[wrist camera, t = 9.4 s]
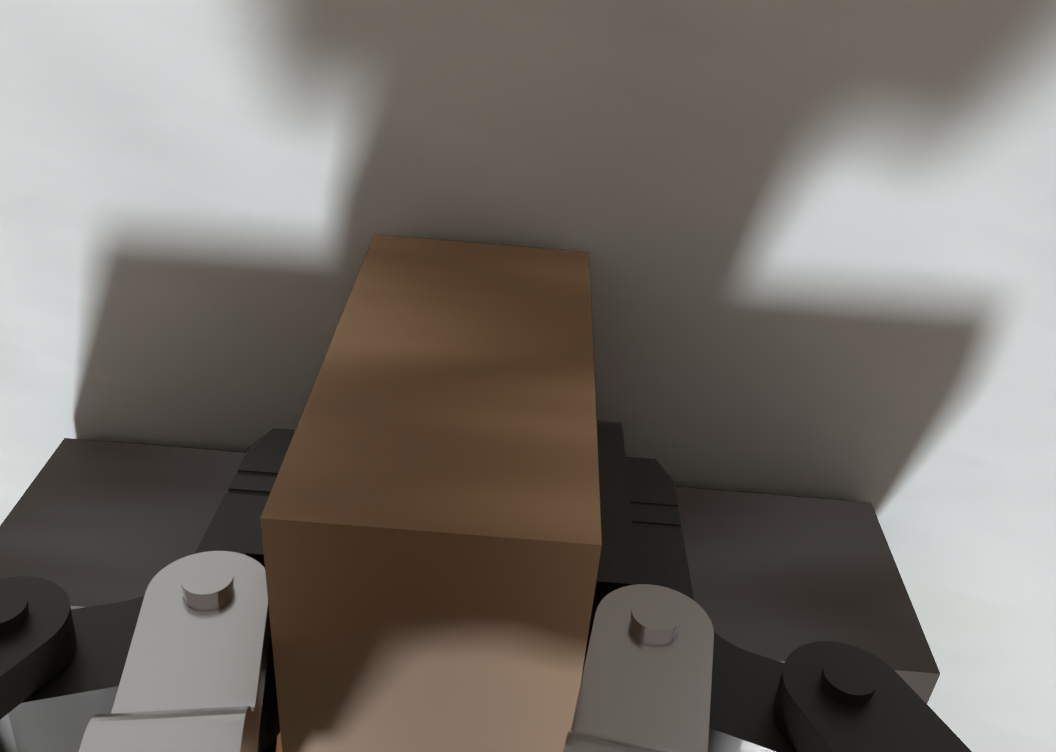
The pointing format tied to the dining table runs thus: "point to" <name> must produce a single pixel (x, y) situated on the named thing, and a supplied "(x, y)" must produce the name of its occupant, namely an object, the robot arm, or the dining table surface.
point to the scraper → (454, 520)
